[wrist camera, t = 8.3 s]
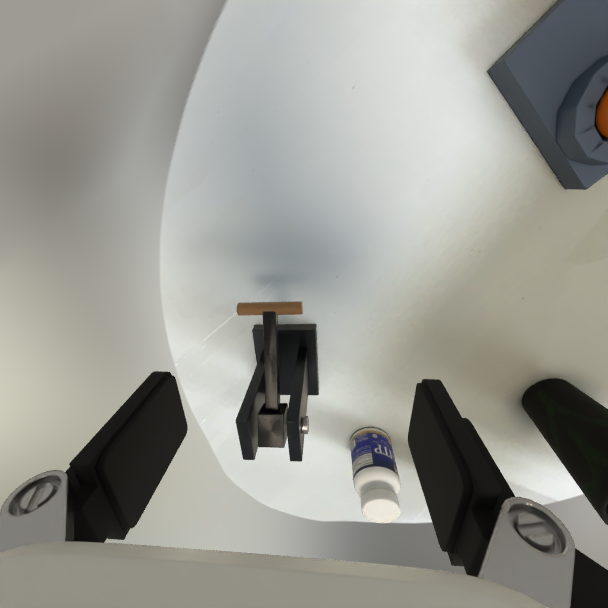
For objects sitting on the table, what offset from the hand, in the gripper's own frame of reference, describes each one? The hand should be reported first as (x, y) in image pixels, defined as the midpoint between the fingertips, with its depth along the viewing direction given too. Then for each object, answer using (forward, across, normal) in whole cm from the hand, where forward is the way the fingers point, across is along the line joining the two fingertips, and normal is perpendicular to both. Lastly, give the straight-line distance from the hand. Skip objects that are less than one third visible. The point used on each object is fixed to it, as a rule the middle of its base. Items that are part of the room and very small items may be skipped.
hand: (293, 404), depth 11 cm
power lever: (+12, +3, +7) cm, 15 cm away
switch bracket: (+20, +3, +11) cm, 23 cm away
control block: (+20, -20, -14) cm, 31 cm away
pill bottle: (+20, -7, +24) cm, 32 cm away
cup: (+20, -27, +16) cm, 37 cm away
